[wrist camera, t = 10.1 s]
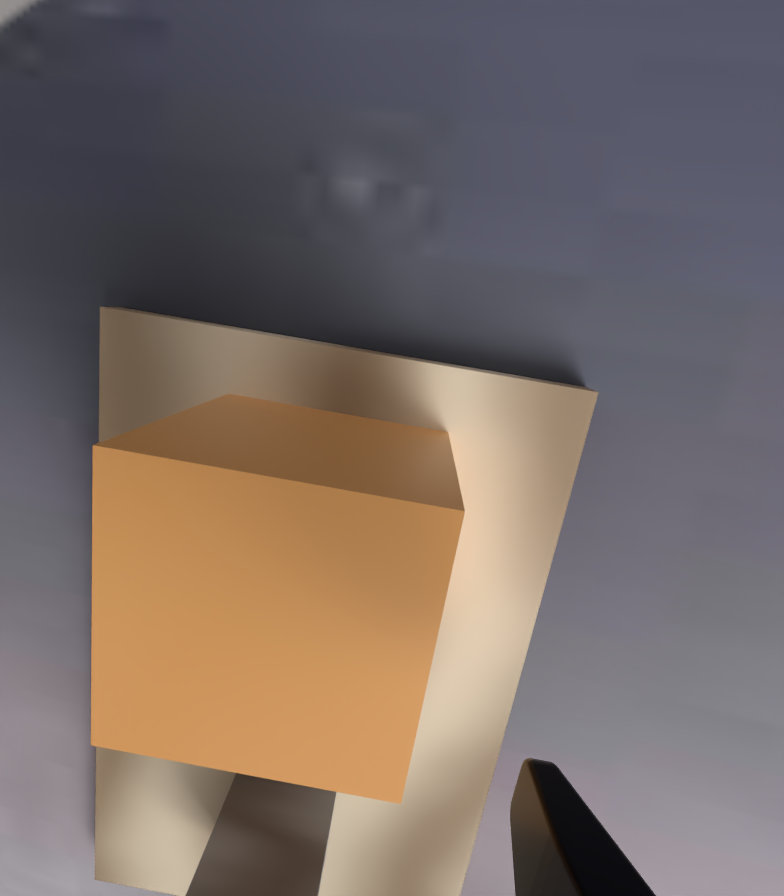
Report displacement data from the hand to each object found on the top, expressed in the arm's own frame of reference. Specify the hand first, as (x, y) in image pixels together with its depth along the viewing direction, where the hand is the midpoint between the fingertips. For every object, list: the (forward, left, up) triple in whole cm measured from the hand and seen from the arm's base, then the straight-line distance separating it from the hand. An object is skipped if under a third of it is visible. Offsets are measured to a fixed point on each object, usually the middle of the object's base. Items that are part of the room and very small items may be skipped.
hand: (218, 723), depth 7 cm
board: (0, -6, -9) cm, 11 cm away
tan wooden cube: (0, 0, -8) cm, 8 cm away
